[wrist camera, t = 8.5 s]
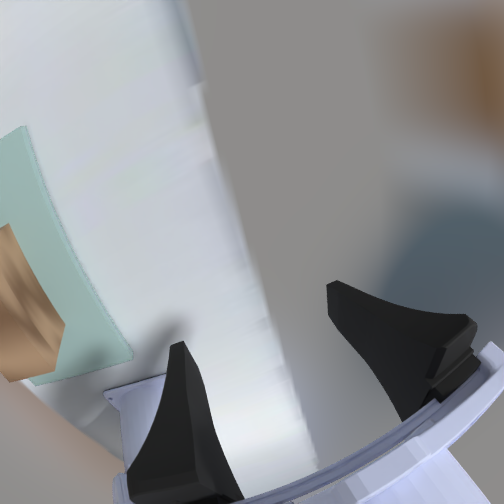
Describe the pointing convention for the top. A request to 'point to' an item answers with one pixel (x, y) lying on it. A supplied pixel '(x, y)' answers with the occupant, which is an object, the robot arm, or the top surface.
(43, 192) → the pin board
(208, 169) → the top surface
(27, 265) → the box
